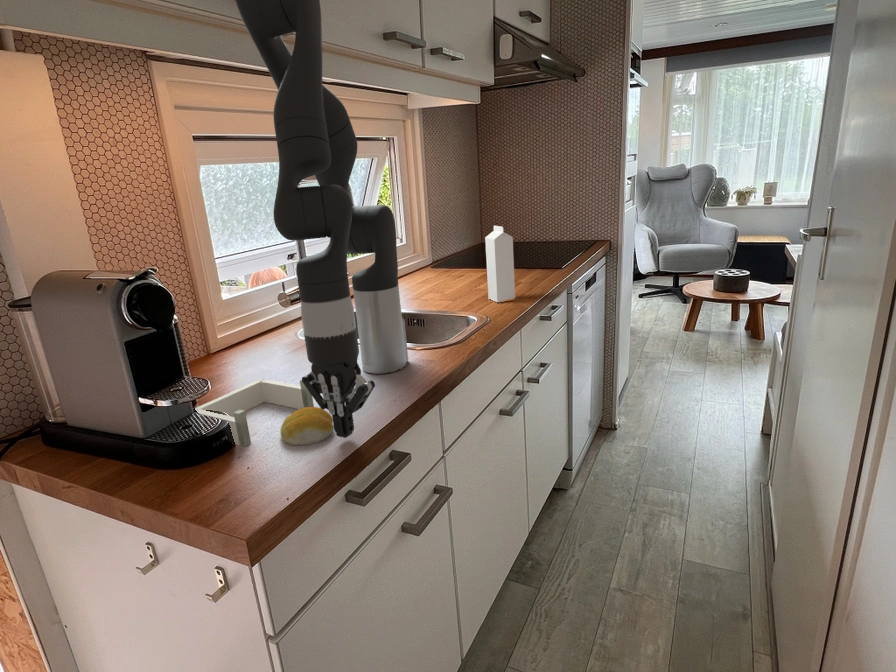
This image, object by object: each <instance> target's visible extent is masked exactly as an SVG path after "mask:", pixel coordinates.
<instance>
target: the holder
mask: <svg viewBox="0 0 896 672" xmlns="http://www.w3.org/2000/svg"><path fill="white" fill-rule="evenodd" d="M313 399H314V398H313V396H312V395H311V394H310V392H309V391H308V389H307V388H306V386H305V385H304V384H303V382H302V379H299V384H293V383H287V382H282V381H277V380H270V379H265V378H259V379H257V380H256V381H255V380H254V381H253V382H251V383H249V384H246V385H244V386H241V387H239V388H238V389H235V390H233V391H231V392H227V393H226V394H224V395H222V396H220V397H218V398H217V397H216V398H215V399H213V400H211V401H208V402H205V403H204V404H202V405H201V404H200V405H199V406H197V407H194V408H195V410H196V411H197V412H198V413H199V414H202V415H205V416H210V417H214V418H217V419H220V420H225V421H227V422H228V423H229V425H230V427H231V428H230V429H231V432H232V436H233V439H234V442H235V444H234V445H238V446H241V447H247V446H249V445H251V444H252V441H251V435H250V430H249V426H248V419H247V415H246V411H248V410H250V409H253V408H254V407H257V406H259V405H260V404H262V403H269V404H274V405H279V406H283V407H289V408H293V409H297V410H299V409H301V408H305V407H315V405H314V400H313ZM206 410H213V411H221V412H225V413H227V414H228V415H229V416H227V415H223V414H218V413H214V412H210V411H206Z"/></svg>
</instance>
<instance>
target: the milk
mask: <svg viewBox="0 0 896 672" xmlns="http://www.w3.org/2000/svg"><path fill="white" fill-rule="evenodd" d="M484 239H485V241H484V243H485V257H486V274H487V275H486V278H487V294H488V295H487V297H488V298H487V299H488V300H489V299H491V300H493V301H496V302H499V301H503V300H507V299H512V298H515V299H516V290H515V289H516V287H515V260H514V259H515V258H514V237H513V236H512V235H510V234H509V233H506V232H504V226H500V225H493V231H491V232H490V233H489V234H488V235H486V236H485V237H484Z"/></svg>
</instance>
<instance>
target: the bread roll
mask: <svg viewBox="0 0 896 672" xmlns="http://www.w3.org/2000/svg"><path fill="white" fill-rule="evenodd" d="M333 429H334V425H333V418H332V415H331V414H330V413H329V411H328V410H326V409H321V408H320V407H316V406H314V407H305V408H301V409H297V410H295V411H294V412H292V413H290V415H288V416H287V417H286V418H284V420H283V423H282V425H281V427H280V437H281V439H282V441H283V442H284V443H286V444H289V445H291V446H304V445H306V446H307V445H314V444H315V443H316V444H317V443H320V442H323V441H324V440H325V439H327V438H328V437H329V436H330V435H331V434H332V431H333Z"/></svg>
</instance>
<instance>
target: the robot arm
mask: <svg viewBox="0 0 896 672" xmlns="http://www.w3.org/2000/svg"><path fill="white" fill-rule="evenodd" d="M234 3H235V5H236V8H237V10H238V13H239V15H240V18H241V20H242V22H243V23H244V25H245V27H246V29H247V32H248V33H249V36H250V38H251V39H252V42H253V43H254V46H255V47H256V49H257V51H258V53H259V55H260V57H261V59H262V60H263V62H264V65H265V66H266V68H267V70H268V72H269V74H270V76H271V79H272V80H273V82H274V84H275V86H276V89H277V93H276V97H275V100H274V105H273V107H274V108H273V126H274V133H275V139H276V147H277V152H278V153H277V155H278V163H279V164H278V179H277V185H276V186H277V188H276V192H275V198H274V205H273V221H274V225H275V227H276V228H275V229H277V231H278V232H279V234H280V235H281V237H283V238H284V239H285V240H288V241H293V242H294V241H304V240H314V239H315V240H316V239H325V238H330V239H329V243H328V244H327V247H326V248H325V249H324V250H322V251H320V252H318V253H315V254H312V255H309V256H306V257H303V258H301V259H299V260H298V261H297V263H296V267H295V271H296V279H297V286H298V292H299V297H300V315H301V323H302V329H303V336H304V343H305V350H306V356H307V360H308V362H309V363H311V366H310V368H311V369H310V370H311V371H310V372H309V373H308V374H306V375H304V376H302V377H301V380H302V382H303V384H304V385H305V386H306V388H307V389H308V391H309V392H310V394H311V395H312V398H313V399H314V401H315V402H316V403H317V405H318V406H319V408H321V409H324V410H326V411H328V413H329V414H330V415H331V417H332V419H333V423H332V425H333V429H334V432H335V434H336V436H337V437H339V438H343V439H346V438H348V437H349V436H351V435H352V434H353V432H354V430H355V425H354V417H353V414H354V413H356V412H357V411H359V410H361V409H362V408H363V407H364V405H365V403H366V402H367V400H368V398H369V397H370V395H371V394H372V392H373V391H374V388H375V387H376V382H375V381H374V380H371V379H370V380H367V379H365V378H364V376H363V375H362V370H363V372H366V373H368V374H375V375H379V374H389V372H390V373H394V372H397V370H398V371H400V370H403V369H404V368H405V367H406V366H407V362H408V361H409V353H408V343H407V342H408V341H407V334H406V333H407V332H406V322H405V318H403V317H402V307H401V306H402V305H401V298H400V288H399V279H398V278H399V277H398V275H399V273H398V271H399V270H398V269H399V265H398V263H399V262H398V253H397V249H398V248H397V229H396V221H395V216H394V213H393V211H392V209H391V208H390V207H389V206H388V205H385V204H373V205H357V206H356V205H354V204H353V202H352V198H351V197H350V194H349V190H348V189H349V182H350V178H351V175H352V171H353V170H354V169H353V168H354V165H355V162H356V159H357V155H358V139H357V136H356V133H355V130H354V128H353V125H352V122H351V120H350V119H351V118H350V116H349V114H348V111H347V109H346V106H345V105H344V103H343V102H342V101H341V100H340V99H339V98H338V97H337V96H336V95H335V94H334V93H333V92H332V91H331V90H330V89H329V88H327V86H325V85H324V84H323V38H322V37H323V29H322V25H323V24H322V23H323V22H322V10H321V2H320V0H234ZM293 33H295V40H294V45H293V51H292V53H291V51H290V50H289V48H288V47H287V45H286V43H285V42H284V40H283V38H282V36H285V35H290V34H293ZM313 176H315V178H316V180H317V184H318V185H312V186H311V185H310V186H299V185H300V183H301V182H302V181H303V180H305V179H308V178H309V177H313ZM298 186H299V187H298ZM348 253H349V254H354V255H357V254H358V255H362V254H365V255H366V254H374V262H373V263H372V264H371V265H370V266H369V267H367V268H365V269H361V270H359V271H357V272H355V273H354V274H353V275H352V276H351V285H352V292H353V299H354V305H353V302H352V301H353V300H352V297H351V289H350V283H349V282H350V281H349V275H348V264H347V263H348V262H347V261H348ZM354 308H355V310H354ZM359 355H360V357H361V365H362V369H361V367H360V366H359V363H358V357H359ZM404 366H405V367H404ZM403 367H404V368H403ZM399 369H400V370H399Z"/></svg>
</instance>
